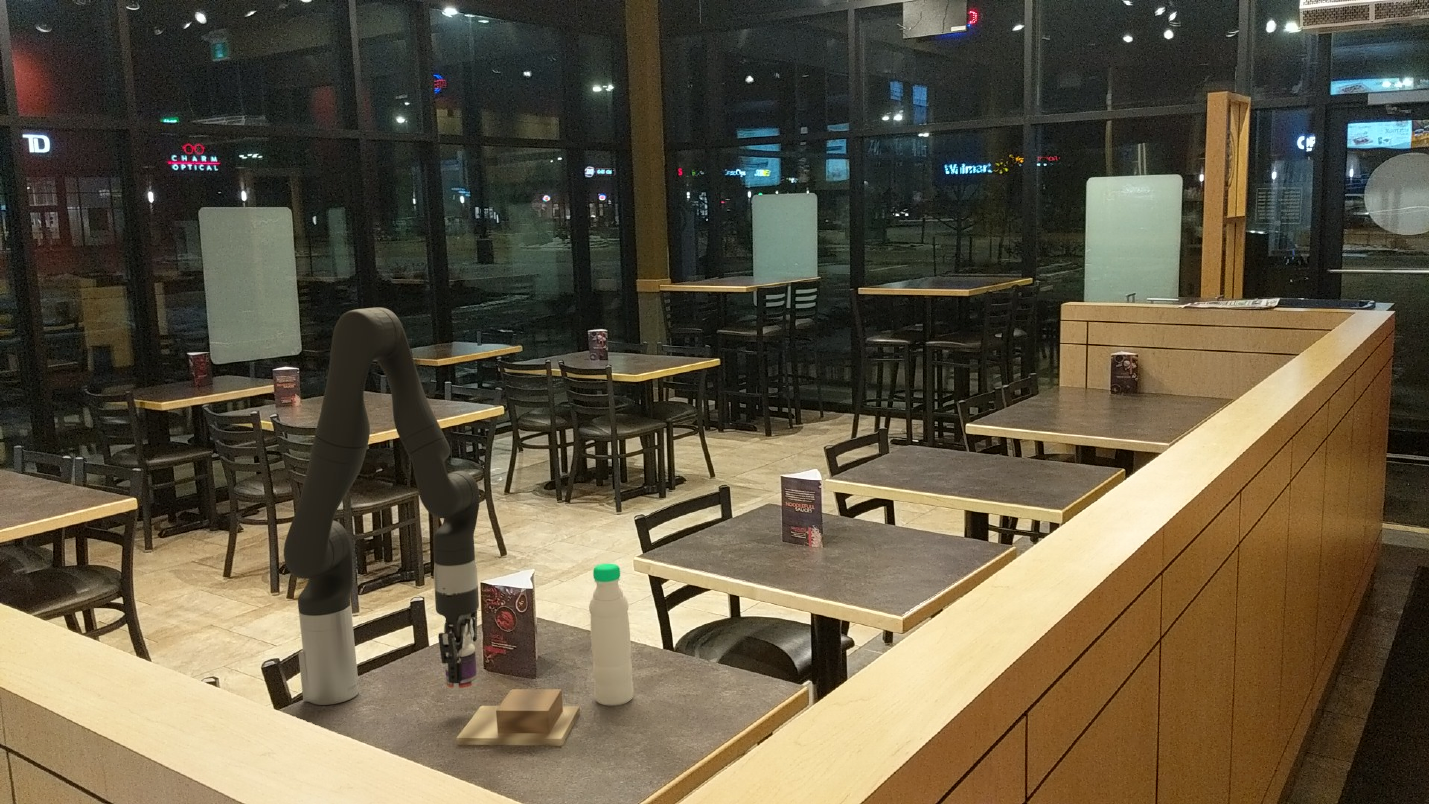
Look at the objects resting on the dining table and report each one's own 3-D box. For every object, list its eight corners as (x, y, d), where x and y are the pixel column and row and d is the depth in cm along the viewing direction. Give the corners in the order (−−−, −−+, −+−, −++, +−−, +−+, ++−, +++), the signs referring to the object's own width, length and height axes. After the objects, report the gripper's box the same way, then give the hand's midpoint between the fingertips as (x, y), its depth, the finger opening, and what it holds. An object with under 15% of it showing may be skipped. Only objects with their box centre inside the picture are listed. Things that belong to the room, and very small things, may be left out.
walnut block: (497, 733, 195) (495, 710, 194) (513, 710, 203) (511, 689, 203) (549, 733, 193) (548, 710, 193) (562, 711, 202) (561, 689, 202)
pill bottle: (481, 680, 209) (478, 629, 208) (471, 692, 204) (469, 640, 203) (452, 679, 210) (449, 628, 208) (442, 691, 205) (439, 639, 203)
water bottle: (587, 703, 208) (578, 569, 204) (608, 689, 214) (600, 558, 210) (620, 709, 205) (612, 573, 201) (641, 694, 211) (633, 562, 207)
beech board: (457, 744, 194) (456, 737, 193) (481, 712, 206) (480, 705, 206) (561, 745, 191) (561, 738, 191) (579, 712, 204) (579, 706, 204)
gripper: (449, 572, 212) (454, 660, 214) (420, 597, 197) (426, 691, 200) (489, 573, 211) (493, 661, 213) (463, 598, 197) (468, 692, 199)
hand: (461, 675), depth 207 cm, fingers closed on pill bottle, 5 cm apart
